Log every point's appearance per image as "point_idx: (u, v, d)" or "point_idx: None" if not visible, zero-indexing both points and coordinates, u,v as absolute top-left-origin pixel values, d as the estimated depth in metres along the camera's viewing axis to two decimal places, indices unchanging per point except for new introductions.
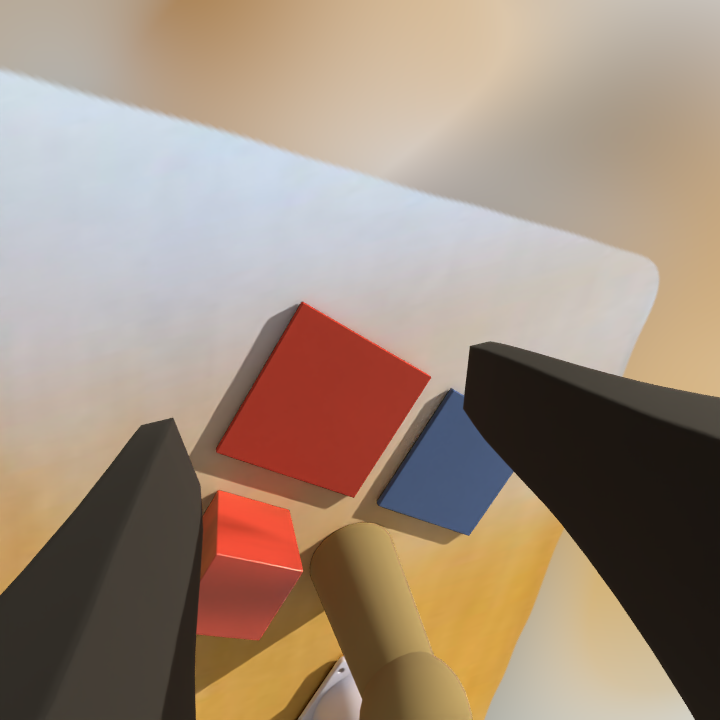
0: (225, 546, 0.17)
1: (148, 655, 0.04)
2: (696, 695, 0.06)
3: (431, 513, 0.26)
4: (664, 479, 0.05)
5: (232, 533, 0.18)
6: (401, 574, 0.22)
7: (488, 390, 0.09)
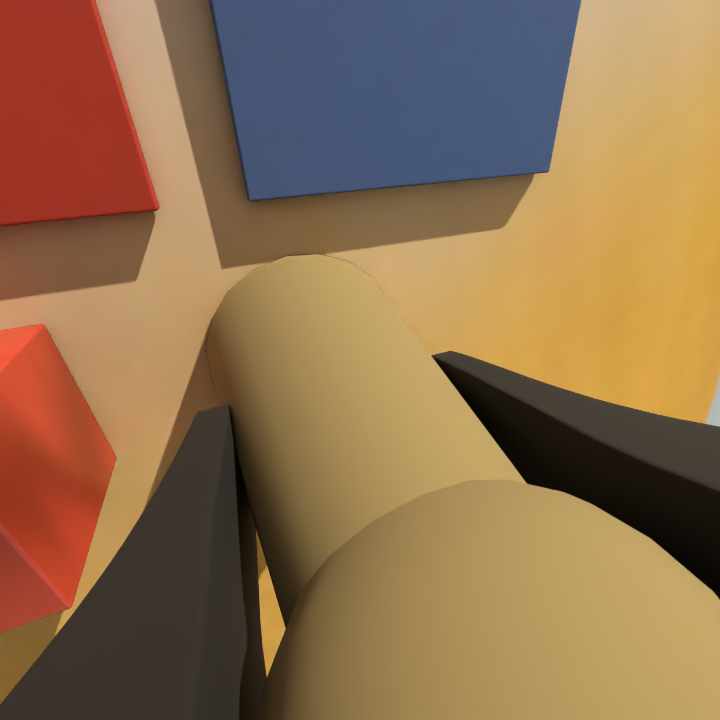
0: None
1: (238, 619, 0.05)
2: None
3: (413, 155, 0.10)
4: (605, 505, 0.05)
5: None
6: (363, 313, 0.08)
7: None
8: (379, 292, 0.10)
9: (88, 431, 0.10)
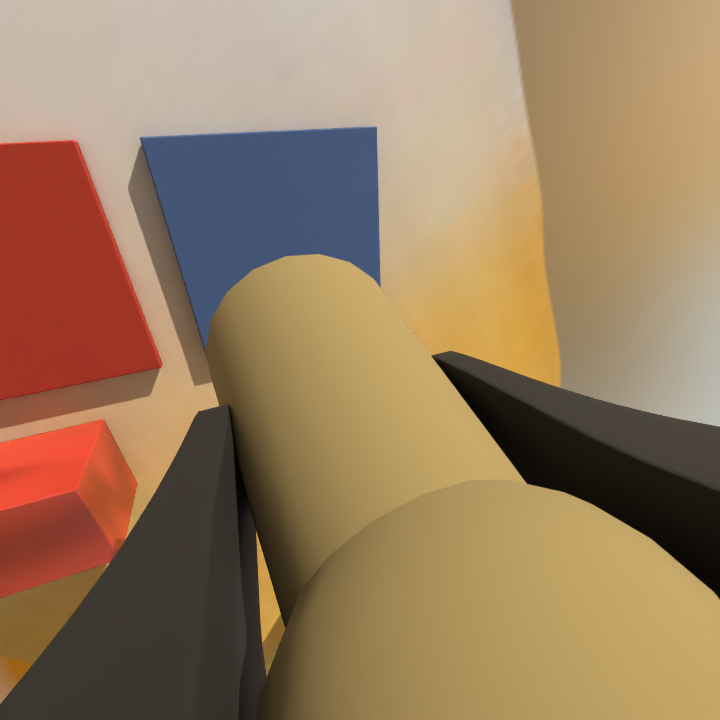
0: None
1: (238, 619, 0.05)
2: None
3: None
4: (605, 505, 0.05)
5: None
6: (363, 313, 0.08)
7: None
8: (379, 292, 0.10)
9: (124, 471, 0.18)
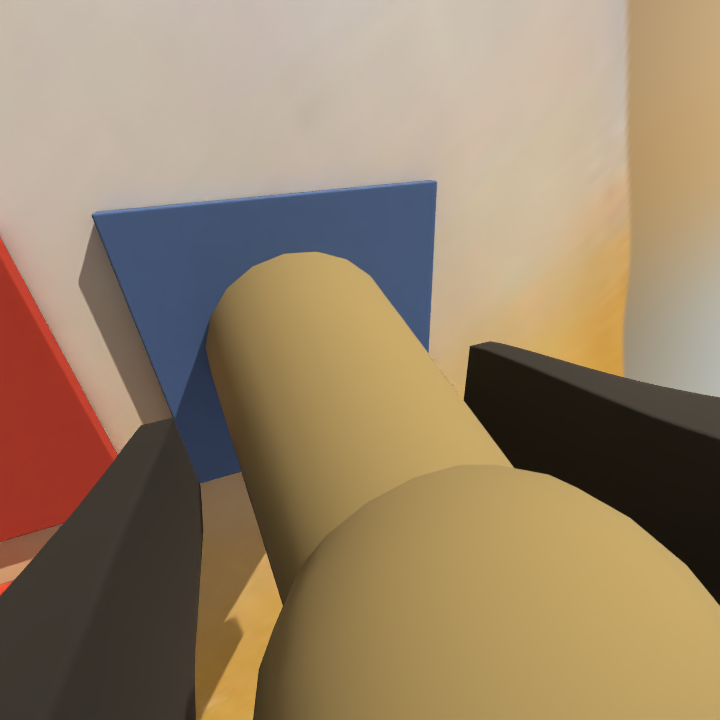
0: None
1: (148, 655, 0.04)
2: None
3: None
4: (663, 480, 0.05)
5: None
6: (359, 308, 0.08)
7: (488, 390, 0.09)
8: (375, 288, 0.10)
9: None
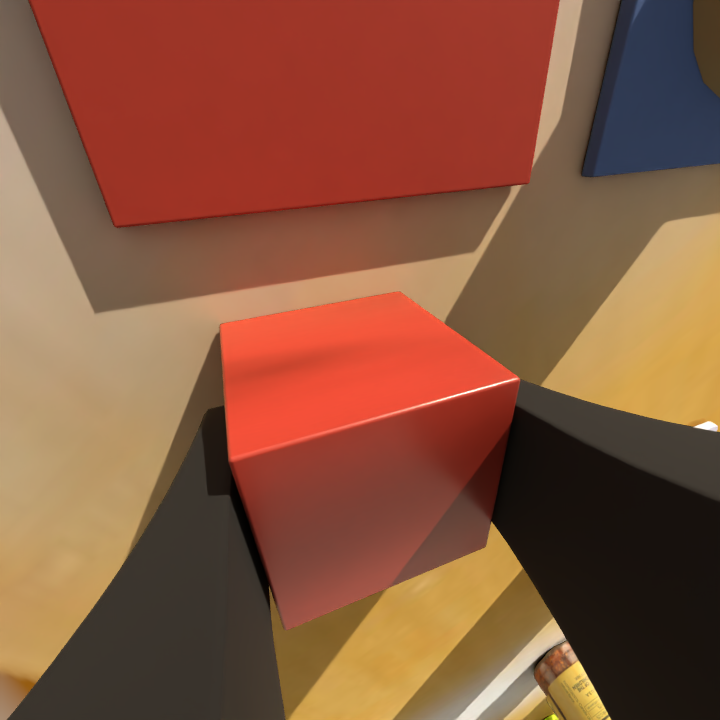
0: (257, 425, 0.05)
1: (253, 613, 0.05)
2: None
3: (719, 135, 0.10)
4: (596, 509, 0.05)
5: (273, 384, 0.06)
6: None
7: None
8: None
9: None
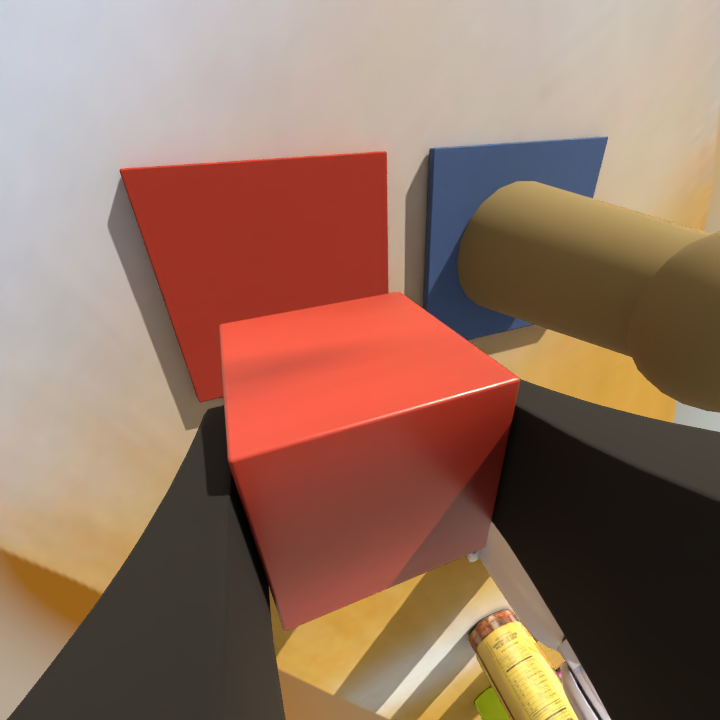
0: (257, 425, 0.05)
1: (253, 614, 0.05)
2: None
3: (498, 321, 0.20)
4: (595, 509, 0.05)
5: (273, 384, 0.06)
6: (598, 201, 0.14)
7: None
8: None
9: None
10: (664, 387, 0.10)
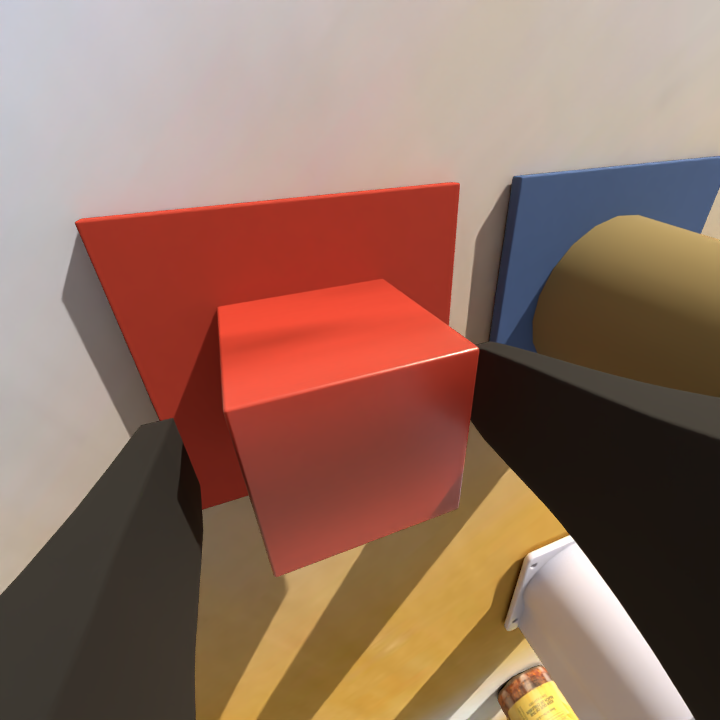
0: (248, 385, 0.06)
1: (148, 655, 0.04)
2: (696, 695, 0.06)
3: None
4: (663, 479, 0.05)
5: (263, 354, 0.07)
6: None
7: (488, 390, 0.09)
8: None
9: None
10: None
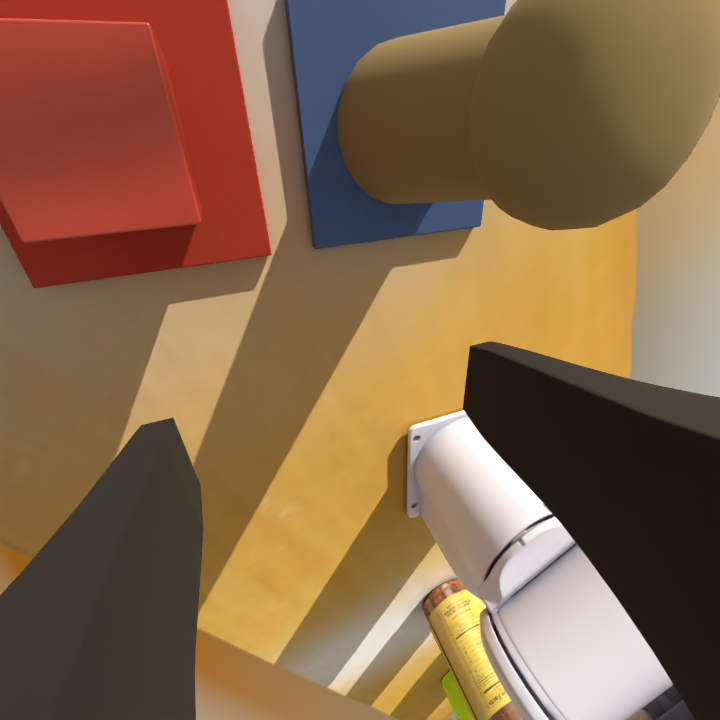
0: None
1: (148, 655, 0.04)
2: (696, 695, 0.06)
3: (401, 221, 0.18)
4: (664, 480, 0.05)
5: None
6: None
7: (488, 390, 0.09)
8: None
9: (191, 159, 0.13)
10: (501, 195, 0.08)
